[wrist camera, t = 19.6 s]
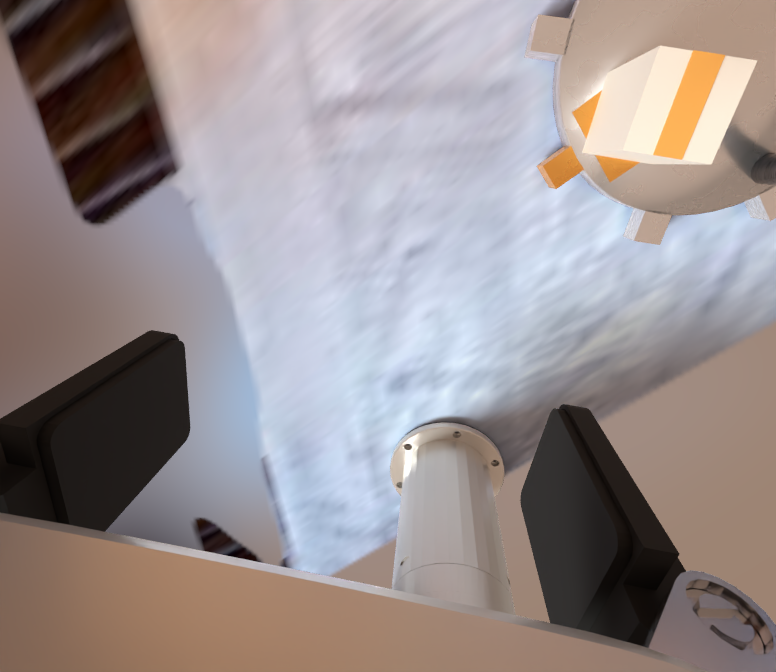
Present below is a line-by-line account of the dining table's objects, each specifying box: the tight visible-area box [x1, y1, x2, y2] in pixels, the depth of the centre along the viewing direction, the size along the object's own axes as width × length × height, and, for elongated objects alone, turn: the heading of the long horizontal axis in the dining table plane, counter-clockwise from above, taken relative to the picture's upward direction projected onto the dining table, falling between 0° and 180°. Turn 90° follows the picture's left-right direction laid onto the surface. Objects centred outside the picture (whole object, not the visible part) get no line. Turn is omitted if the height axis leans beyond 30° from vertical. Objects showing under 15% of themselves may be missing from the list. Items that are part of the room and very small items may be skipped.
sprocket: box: [524, 0, 776, 245], centre depth 25 cm, size 24×24×8 cm
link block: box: [582, 46, 757, 165], centre depth 25 cm, size 5×5×7 cm
